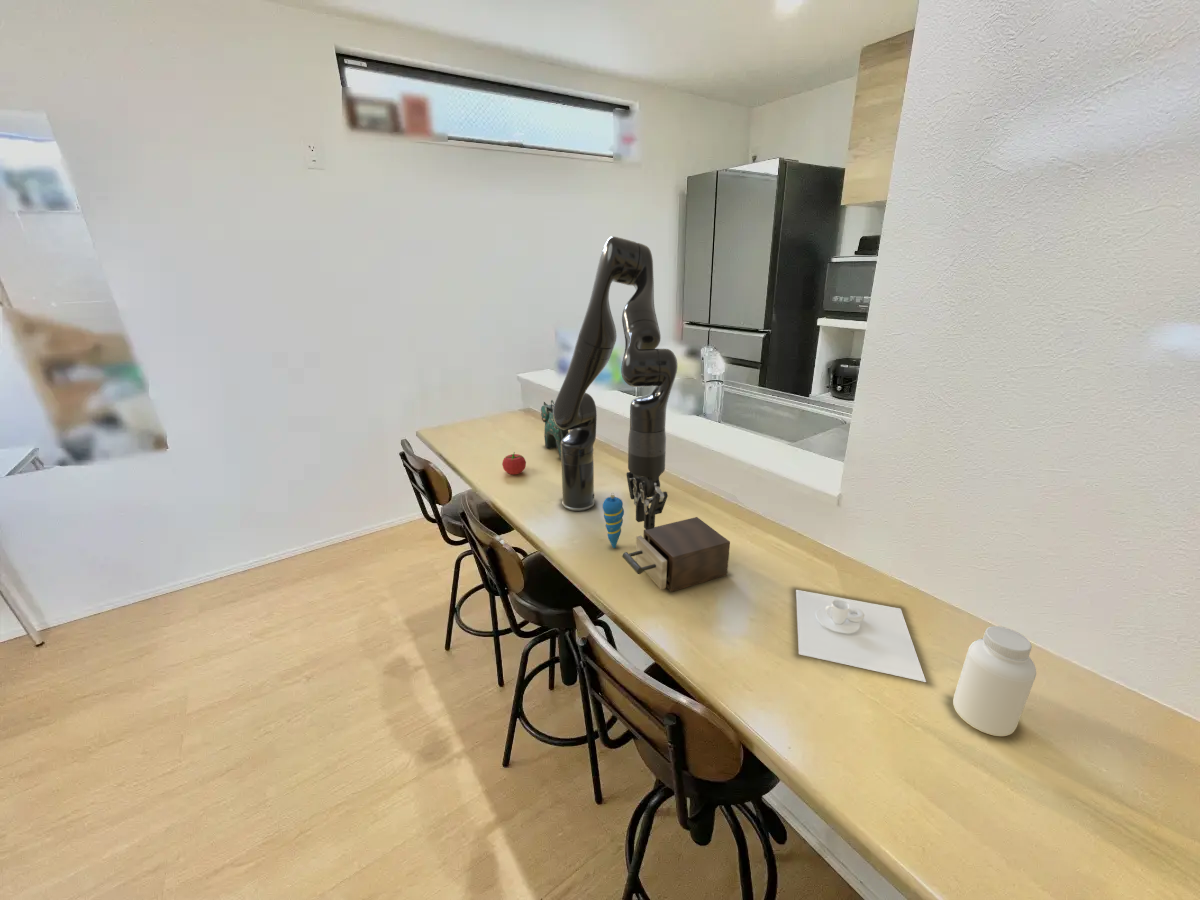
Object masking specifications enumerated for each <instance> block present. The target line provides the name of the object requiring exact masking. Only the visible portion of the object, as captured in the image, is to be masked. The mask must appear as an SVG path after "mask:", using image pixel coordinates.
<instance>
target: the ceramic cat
mask: <svg viewBox="0 0 1200 900" xmlns="http://www.w3.org/2000/svg"><path fill="white" fill-rule="evenodd" d="M554 404H555V401H554V400H553V399H551V400H550V404H548V403H546V402H545V401H543V405H542V406H541V407H540V420H541V421H542V422H543V423H544V434H543V436H544V438H543V439H544V447H545V448H547V449H554V448H557V446H556V442H557V445H558V449H557V451H558V457H559V460H560V461H561V441H562V439H563V438H564V437H565V436H566V435H567V434H568V433H569V430H562V429H560V428H559V427H558V426H557V425H556V423H555V421H554V418H553V408H554Z"/></svg>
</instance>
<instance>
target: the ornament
mask: <svg viewBox="0 0 1200 900" xmlns="http://www.w3.org/2000/svg"><path fill="white" fill-rule="evenodd" d="M623 506H624V503H623V500H622V499H621V498H619V497H617V496H615V494H613V492H612V493H611V494H610V496H608V497H606V498H605V499H604V500H603V503H602V510H603V512H604V514H603V518H604V521H605V529H606V531H607V539H608V541H609V542H610V545H611V547H612V548H613V549H615V548H617V545H618V542H619V538H620V536H621V533H622V526H623V522H624V519H623V517H624V515H625V509H624V507H623Z"/></svg>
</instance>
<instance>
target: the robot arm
mask: <svg viewBox="0 0 1200 900" xmlns="http://www.w3.org/2000/svg"><path fill="white" fill-rule="evenodd" d="M654 281H655V279H654V259H653V254H652V252H651V248H650V247H648V246H647V245H645V244H643V243H640V242H637V241H633V240H630V239H626V238H623V237H618V236H610V237H608V238H607V240H606V241H605V242H604V245H603V247H602V250H601V253H600V256H599V260H598V264H597V269H596V272H595V277H594V282H593V285H592V290H591V294H590V298H589V302H588V305H587V308H586V312H585V314H584V318H583V320H582V324H581V327H580V329H579V332H578V335H577V338H576V339H577V340H576V343H575V346H574V349H573V353H572V357H571V360H570V362H569V365H568V368H567V372H566V375H565V377H564V380H563V381H562V382H563V383H562V385H561V386H560V389H559V392H558V393H557V396H556V399H555V401H554V404H553V405H554V408H553V418H554V421H555V423H556V425H557V426H558V427H559V428H560V429H562V430H568V434H567V435H566V436H565V437H564V438H563V439H562V441H561V460H560V462H561V464H560V465H561V487H562V488H561V489H562V490H561V491H562V501H561V502H562V507H563V508H564V509H566V510H569V511H573V512H583V511H587V510H589V509H590V510H591V508H593V507H594V506H595V476H594V475H595V474H594V473H595V472H594V465H595V463H594V461H595V460H594V444H595V442H596V439H597V420H598V414H597V413H598V412H597V411H598V410H597V405H596V402H595V400H594V398H593V397H592V396H591V394H590V393H588V392H587V390H588V388H590V386H591V385H592V383H593V382H594V381H595V380H596V379H597V377H598V376H599V375H601V373H602V372H603V370H604V369H605V367H607V365H608V363H609V362H610V359H611V356H612V353H613V350H614V348H615V345H616V342H617V338H618V337H617V329H616V325H615V321H614V318H613V314H612V311H611V306H610V299H609V296H610V289H611V286H612V283H617V284H621V285H624V286H625V285H626V286H630V287H633V288H634V289H635V292H634V293H633V294H632V296H631V297H630V298H629V299H628V301H627V302H626V304H625V305H624V307H623V310H622V314H621V315H622V316H621V322H622V328H623V334H624V341H625V342H624V344H625V345H624V348H625V349H624V352H623V357H622V361H621V362H622V363H621V367H620V368H621V369H620V373H621V376H622V380H623V381H624V382H625V384H627V386H630V387H632V388H640V387H654V388H653V390H652V391H651V392H650V393H648V394H646V395H642V396H639V397H636V398H634V399H632V400H631V402H630V405H629V432H628V443H627V444H628V445H627V446H628V447H627V456H628V457H627V469H628V471H627V472H626V473H625V475H626V480H627V485H628V491H629V497H630V499H631V500H633V504H634V506H635V521H636V522H637V523H641V522H643V528H644V530H645V529H646V530H649V529H653V528H654V527H656V515H660V514H662V513H663V511H664V507H665V505H666V502H667V499H668V496H669V495H668V492H667V491H662V489H661V481H660V477H661V475H662V474H663V473H664V472H665V470H666V455H667V453H666V451H667V434H666V423H667V421H666V420H667V406H668V402H669V398H670V394H671V391H672V388H673V385H674V382H675V379H676V376H677V373H678V359H677V357H676V355H675V353H674V352H673V351H672V350H671V349H669V348H658V346H659V345H660V343H661V339H662V337H661V331H660V327H659V321H658V318H657V313H656V308H655V285H654V283H655V282H654ZM556 448H557V450H558V445H557V442H556Z"/></svg>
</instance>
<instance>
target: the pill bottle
mask: <svg viewBox="0 0 1200 900" xmlns="http://www.w3.org/2000/svg"><path fill="white" fill-rule="evenodd" d="M1032 647H1033V646H1032V643H1031V642H1030V640H1029V639H1028V638H1027V637H1026V636H1024V635H1023V634H1021V633H1020V632H1018V631H1016V630H1014V629H1011V628H1009V627H1005V626H999V625H992V626H988V627H987V628H986V629H985V630H984V634H983V638H978V639H976V640H974V641H973V642H972V643H971V644H970V645H969V647H968V650H967V651H966V656H965V659H964V662H963V665H962V669H961V672H960V674H959V678H958V681H957V685H956V688H955V690H954V691H955V692H954V695H953V700H952V704H953V708H954V710H955V712H956V714H957V715H958V716H959V717H960V718H961V720H963V721H964V722H965V723H967V724H968V725H969V726H970V727H972V728H973V729H976V730H977V731H980V732H982V733H984V734H987V735H991V736H994V737H1006V736H1010V735H1012V734H1013V733H1014V732H1015V731H1016V729H1017V727H1018V724H1019V722H1020V719H1021V716H1022V714H1023V711H1024V709H1025V706H1026V704H1027V700H1028V699H1029V696H1030V693H1031V690H1032V688H1033V685H1034V682H1035V680H1036V678H1037V677H1036V676H1037V668H1036V664H1035V663H1034V661H1033V659H1032V658H1031V657H1030V655H1031V654H1030V653H1031V651H1032V649H1033V648H1032Z"/></svg>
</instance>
